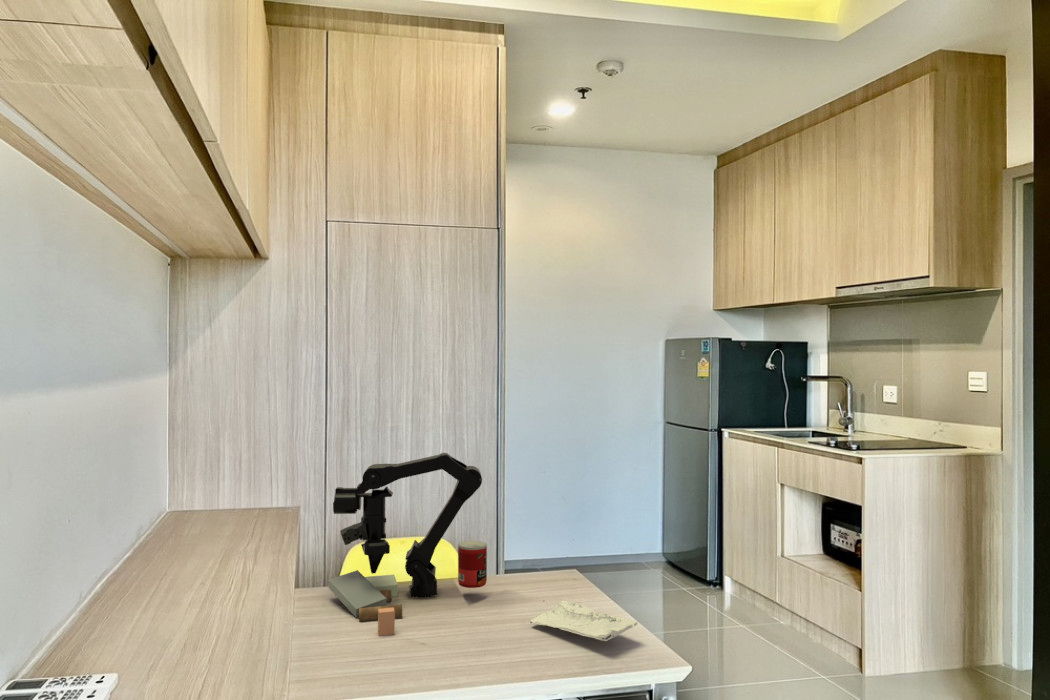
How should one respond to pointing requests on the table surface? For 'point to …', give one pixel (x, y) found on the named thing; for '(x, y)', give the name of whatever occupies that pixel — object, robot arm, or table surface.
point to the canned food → (472, 564)
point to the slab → (356, 592)
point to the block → (385, 583)
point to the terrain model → (583, 621)
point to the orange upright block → (386, 621)
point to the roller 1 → (386, 594)
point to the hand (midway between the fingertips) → (373, 573)
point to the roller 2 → (372, 612)
